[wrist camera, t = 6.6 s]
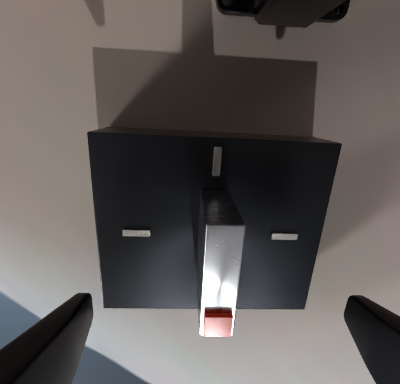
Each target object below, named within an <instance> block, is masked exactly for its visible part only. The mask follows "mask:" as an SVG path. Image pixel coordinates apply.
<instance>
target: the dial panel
mask: <svg viewBox="0 0 400 384" xmlns="http://www.w3.org/2000/svg"><path fill="white" fill-rule="evenodd" d="M87 135H88V146H89V157H90V168H91V179H92V190H93V201H94V212H95V223H96V234H97V245H98V256H99V267H100V278H101V289H102V300H103V308H175V309H198V296H197V275H196V272H197V252H198V233H199V213H200V193H201V189H216V190H229V192H230V194H231V196H232V198H233V200H234V203H235V205H236V207H237V209H238V211H239V213H240V215H241V217H242V219H243V221H244V223H245V225H246V229H245V237H244V246H243V254H242V263H241V272H240V280H239V289H238V298H237V306H236V309H304V308H305V304H306V300H307V295H308V291H309V286H310V282H311V278H312V273H313V269H314V264H315V260H316V256H317V251H318V247H319V242H320V238H321V234H322V229H323V225H324V220H325V216H326V211H327V207H328V203H329V198H330V194H331V189H332V185H333V181H334V176H335V172H336V167H337V163H338V159H339V154H340V150H341V145H342V144H341V143H337V142H333V141H329V140H324V139H320V138H316V137H308V136H287V135H266V134H244V133H223V132H202V131H181V130H160V129H138V128H117V127H106V128H102V129H98V130H94V131H90V132H88V133H87Z"/></svg>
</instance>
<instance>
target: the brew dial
mask: <svg viewBox="0 0 400 384" xmlns="http://www.w3.org/2000/svg"><path fill="white" fill-rule="evenodd" d="M245 229H246V225H245V223H244V221H243V219H242V217H241V215H240V213H239V211H238V209H237V207H236V205H235V203H234V200H233V198H232V196H231V194H230V192H229V190H216V189H201V193H200V213H199V233H198V252H197V272H196V275H197V296H198V316H199V334H200V335H204V337H231V335H233V332H234V324H235V315H236V306H237V298H238V289H239V280H240V272H241V263H242V254H243V246H244V237H245Z"/></svg>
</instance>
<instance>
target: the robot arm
mask: <svg viewBox="0 0 400 384" xmlns="http://www.w3.org/2000/svg"><path fill="white" fill-rule="evenodd" d="M349 3H350V0H231V5H229V6H226V5H224V4H223V2H222V0H216V5H217V9H218V11H219V12H220V13H222V14H224V15H235V16H248V17H255V20H256V21H257V23H258V24H262V25H276V26H290V27H304V28H305V27H308V26H309V25H311V24H312V23H314V22H329V23H333V22H337V21H338V20H340V19H342V18H343V17H344V16H345V15H346V14H347V11H348V8H349ZM337 6H338V8H339V13H338V14H335V13H334V11H333V9H334V8H336V7H337ZM92 319H93V306H92V297H91V294H89V293H78V294H76V295H74V296H73V297H72V298H70V299H69V300H67V301H66V302H65V303H63V304H62V305H61V306H59V307H58V308H57V309H55V310H54V311H52V312H51V313H50V314H48V315H47V316H46V317H44V318H43V319H42V320H40V321H39V322H37V323H36V324H35V325H33V326H32V327H31V328H29V329H28V330H26V331H25V332H24V333H22V334H21V335H20V336H18V337H17V338H16V339H14V340H13V341H11V342H10V343H9V344H7V345H6V346H5V347H3V348H2V349H1V350H0V384H71V383H72V380H73V378H74V376H75V373H76V371H77V368H78V365H79V361H80V359H81V355H82V352H83V349H84V346H85V342H86V339H87V336H88V333H89V329H90V326H91V323H92ZM344 319H345V322H346V324H347V326H348V328H349V331H350V333H351V335H352V337H353V339H354V341H355V343H356V345H357V348H358V350H359V352H360V354H361V356H362V358H363V360H364V362H365V364H366V366H367V368H368V370H369V372H370V374H371V375H372V377H373V379H374V381H375V382H376V384H400V316H398V315H396V314H394V313H393V312H391V311H389V310H387V309H385V308H384V307H382V306H380V305H378V304H377V303H375V302H373V301H371V300H369V299H368V298H366V297H364V296H361V295H352V296H350V297H349V298H348V301H347V304H346V308H345V311H344Z"/></svg>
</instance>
